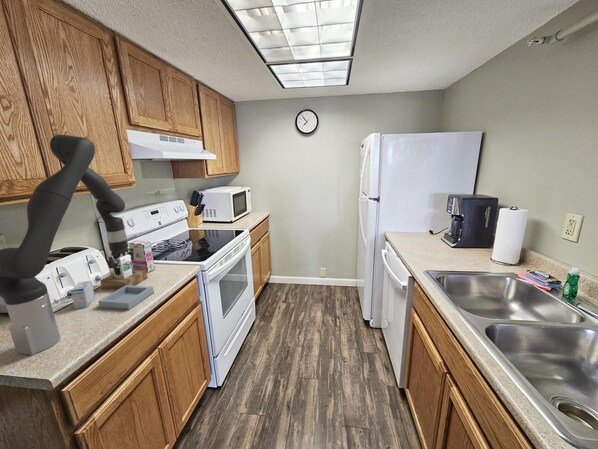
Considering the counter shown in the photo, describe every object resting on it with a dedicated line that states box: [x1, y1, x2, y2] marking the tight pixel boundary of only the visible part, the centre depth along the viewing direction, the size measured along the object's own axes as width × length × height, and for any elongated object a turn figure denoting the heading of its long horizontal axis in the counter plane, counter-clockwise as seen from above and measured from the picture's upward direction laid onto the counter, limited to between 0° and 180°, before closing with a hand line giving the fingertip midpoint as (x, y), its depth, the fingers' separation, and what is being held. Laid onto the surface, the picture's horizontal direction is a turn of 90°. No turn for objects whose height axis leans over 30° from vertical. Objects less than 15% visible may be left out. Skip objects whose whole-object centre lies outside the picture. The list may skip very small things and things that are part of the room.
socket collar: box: [99, 269, 149, 291], centre depth 125 cm, size 13×13×4 cm
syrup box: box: [112, 254, 134, 279], centre depth 124 cm, size 6×6×14 cm
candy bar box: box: [128, 240, 156, 274], centre depth 139 cm, size 11×5×16 cm, turn 71°
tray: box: [97, 285, 155, 311], centre depth 110 cm, size 14×14×3 cm
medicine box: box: [70, 280, 96, 310], centre depth 107 cm, size 8×4×9 cm, turn 21°
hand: (123, 272), depth 124 cm, fingers closed on syrup box, 5 cm apart
